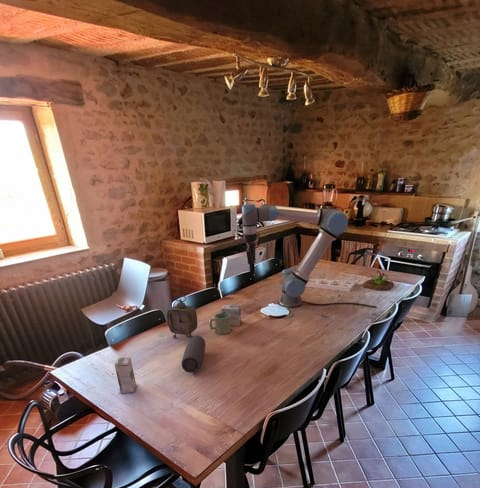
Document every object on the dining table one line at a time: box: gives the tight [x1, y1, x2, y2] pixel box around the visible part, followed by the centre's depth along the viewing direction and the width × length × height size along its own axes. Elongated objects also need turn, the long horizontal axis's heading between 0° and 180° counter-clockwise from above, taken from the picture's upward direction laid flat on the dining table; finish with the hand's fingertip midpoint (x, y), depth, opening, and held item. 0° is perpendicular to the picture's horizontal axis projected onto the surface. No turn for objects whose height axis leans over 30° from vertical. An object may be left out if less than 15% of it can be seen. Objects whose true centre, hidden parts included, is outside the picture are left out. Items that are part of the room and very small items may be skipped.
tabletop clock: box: [166, 293, 198, 340], centre depth 196 cm, size 14×9×25 cm, turn 70°
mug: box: [208, 312, 232, 335], centre depth 204 cm, size 12×9×10 cm
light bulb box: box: [220, 304, 242, 327], centre depth 213 cm, size 11×7×11 cm, turn 82°
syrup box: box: [114, 356, 137, 394], centre depth 154 cm, size 6×6×14 cm
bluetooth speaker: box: [181, 335, 206, 374], centre depth 173 cm, size 23×9×10 cm, turn 178°
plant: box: [363, 270, 395, 292], centre depth 260 cm, size 20×20×11 cm
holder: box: [305, 278, 358, 293], centre depth 272 cm, size 45×18×3 cm, turn 59°
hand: (252, 274), depth 217 cm, fingers closed
